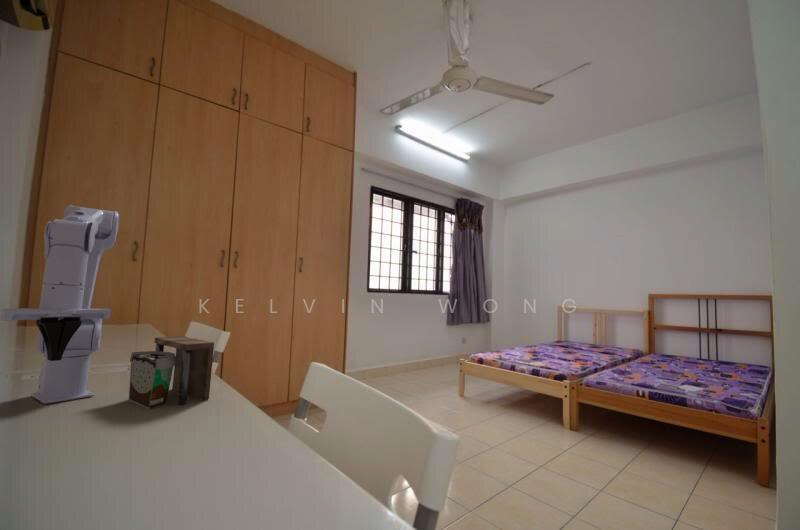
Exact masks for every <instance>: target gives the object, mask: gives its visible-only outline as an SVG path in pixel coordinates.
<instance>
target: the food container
mask: <svg viewBox="0 0 800 530" xmlns="http://www.w3.org/2000/svg"><path fill="white" fill-rule="evenodd" d="M129 362H130V372H129V373H130V375H129V388H128V390H129V391H128V401H130V402H132V403H134V404H137V405H138V406H140V407H143V408H144V409H148V410H152V409H156V408H159V407H162V406H164V405H166V403H167V402H168V396H169V391H170V386H171V381H172V377H173V375H172V374H173V372H174V367H175V366H176V365H177V359H176V353H174V352H171V351H164V352H161V351H155V350H152V351H151V350H149V351H148V350H147V351H142V350H141V351H131V355H130V360H129Z"/></svg>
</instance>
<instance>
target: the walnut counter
mask: <svg viewBox="0 0 800 530" xmlns="http://www.w3.org/2000/svg"><path fill="white" fill-rule="evenodd" d="M154 344H155V350H154V351H161V352H165V346H166V347H170V348H175V349H176V350H175V357H176V359H177V365H176V366H173V375H172V377H173V378H172V388H171V389H172V390H173V391H176V392H178V397H177V398H178V399H177V405H178V406H186V405H187V404H188V403H187V402H188V396H190V397H192V396H193V398H195V397H196V399H198V398H199V399H198V400H201V399H202V400H201V401H204V400H206V401H208V400H207V399H209V400H210V391H211V390H210V389H211V380H212V371H213V370H212V368H213V358H214V349H215V341H214V342H213V341H209V340H203V339H198V338H193V337H188V336H184V335H179V336H178V335H177V336H175V335H174V336H164V337H161V336H160V337H154Z"/></svg>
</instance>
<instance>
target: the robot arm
mask: <svg viewBox="0 0 800 530" xmlns="http://www.w3.org/2000/svg"><path fill="white" fill-rule="evenodd" d="M63 213H64V214H63V218H62V219H58V218H55V219H54V220H53V221H51V220H49V221H47V223H46V225H45V227H44V234H43V241H44V252H43V257H44V259H45V264H44V265H45V266H44V271H43V278H42V286H41V293H40V294H41V295H40V301H39V307H30V308H29V307H28V308H26V307H24V308H19V307H18V308H1V315H0V321H3V322H5V321H7V322H8V321H35V323H36V326H37V328H38V330H39V331H38V334H37V339H36V349H37V350H36V351H38V352H39V354H43V357H45V359H43V360H42V363H41V366H40V370H39V377H38V378H39V379H38V385H37V391H36V392H35V391H34V392H30V396H32V397H33V398H34V399H36V400H38V401H39V402H41V403H42V404H53V403H59V402H64V401H71V400H76V399H77V400H78V399H83V398H89V397H94V396H95V395H94V394H95V393H93V392H91V391H89V390H87V388H88V382H89V381H88V380H89V373H90V372H89V371H90V364H91V355H92V354H93V353H94V352H95V353H96V352H97V351H98V350H99V349H100V347H101V342H102V335H103V334H102V333H103V320H105V319H106V320H109V319H110V318H111V308H91V305H92V301H93V296H94V292H95V291H94V290H95V285H96V280H97V275H98V270H99V266H100V265H99V264H100V260H101V258H102V256H103V254H104V252H105V251H106V250H109V249H112V248H114V244H115V243H116V241H117V236H118V235H117V234H118V230H119V226H120V225H119V224H120V214H119V213H118V211H116V210H114V211H113V210H112V211H111V210H106V209H96V208H92V207H89V208H88V207H84V206H76V205H73V204H69V205H68V206H66V207H65V209H64V212H63Z"/></svg>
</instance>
